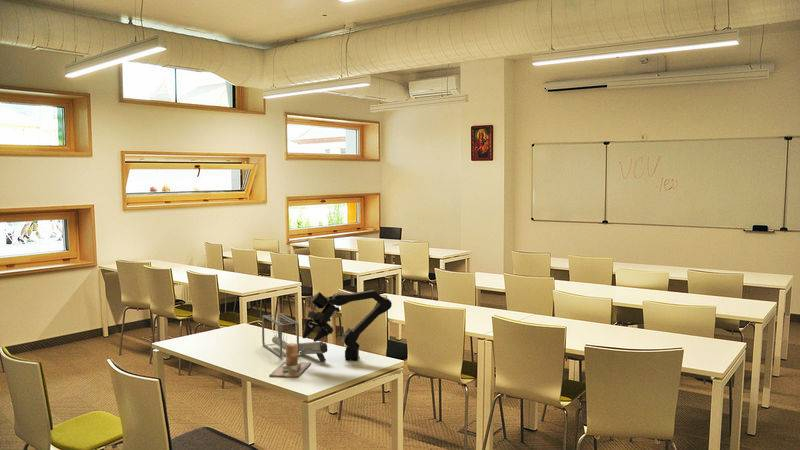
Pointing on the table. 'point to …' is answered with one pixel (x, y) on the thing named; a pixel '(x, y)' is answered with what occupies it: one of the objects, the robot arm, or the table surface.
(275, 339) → the newton's cradle
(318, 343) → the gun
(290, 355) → the tapered tan cup
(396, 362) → the table surface
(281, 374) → the brown board with rail
